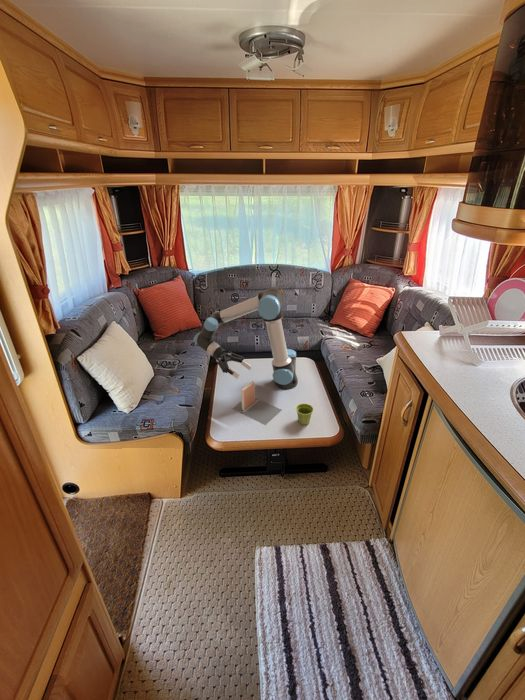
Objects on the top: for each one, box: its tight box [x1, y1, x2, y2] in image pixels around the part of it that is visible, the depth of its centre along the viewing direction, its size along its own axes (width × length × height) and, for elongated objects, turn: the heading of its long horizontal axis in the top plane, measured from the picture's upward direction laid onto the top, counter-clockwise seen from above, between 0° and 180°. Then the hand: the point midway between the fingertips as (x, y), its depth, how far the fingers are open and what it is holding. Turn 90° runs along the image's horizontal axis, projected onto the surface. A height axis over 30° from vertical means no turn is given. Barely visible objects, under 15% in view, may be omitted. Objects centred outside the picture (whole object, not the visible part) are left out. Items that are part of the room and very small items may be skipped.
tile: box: [240, 380, 256, 410], centre depth 197 cm, size 2×10×14 cm, turn 143°
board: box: [231, 397, 283, 426], centre depth 197 cm, size 24×16×2 cm, turn 53°
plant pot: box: [295, 403, 314, 426], centre depth 187 cm, size 9×9×9 cm
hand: (244, 372), depth 196 cm, fingers open, 13 cm apart
